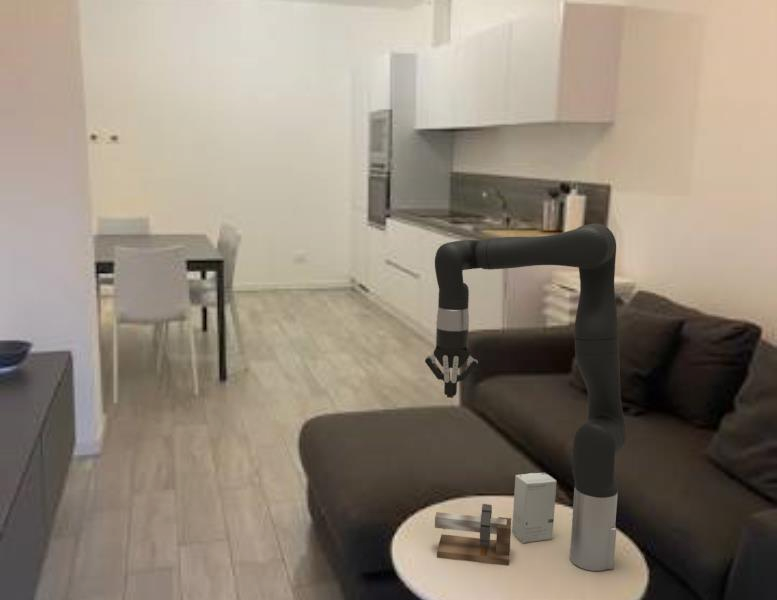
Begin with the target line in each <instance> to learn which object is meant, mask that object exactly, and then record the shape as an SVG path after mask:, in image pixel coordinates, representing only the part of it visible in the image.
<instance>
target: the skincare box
mask: <svg viewBox="0 0 777 600" xmlns="http://www.w3.org/2000/svg"><path fill="white" fill-rule="evenodd" d="M514 477H515V478H514V479H515V481H514V495H513V508H512V509H513V510H512V521H511V532H512V533H511V534H513V535H514V536H515V537H516V538H517V539H518V540H519V541H520V542H521V543H522V544H526V543H531V542H538V541H546V540H548V541H549V540H552V539H553V532H554V522H555V521H554V520H555V519H554V518H555V507H556V493H557V479H555V478H553V476H551V475H549V474H548V473H546V472H537V473H536V472H530V473H525V474H524V473H522V474H516V475H515V476H514Z"/></svg>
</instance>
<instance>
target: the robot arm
mask: <svg viewBox="0 0 777 600" xmlns="http://www.w3.org/2000/svg"><path fill="white" fill-rule="evenodd" d="M616 256H617V240H616V237H615V235H614V234H613V232H612V230H611V229H609V228H608V227H607V226H606V225H603V224H601V223H589V224H584V225H581V226H579V227H576V228H575V229H571V230H567V231H564V232H563V231H562V232H560V233H556V234H550V235H543V236H505V237H504V236H502V237H494V238H493V237H492V238H485V239H463V240H462V239H461V240H454V241H451V242H446V243H443V244H441V245H440V246H439V247H438V249H437V250H436V252H435V258H434V270H435V271H434V272H435V275H436V282H437V286H438V303H437V304H438V305H437V313H436V314H437V315H436V323H435V325H436V334H435V335H436V337H435V339H436V340H435V348H434V350H433V353H432V354H431V355H428V356H427V357H426V358H425V360H424V361H425V364H426V366H428V368H429V369H430V371H431V372H432V374H433V375H434V376H435V377H436V379H437V380H438V381H439V380H440V381H443V382H444V389H443V391H444V395H445V396H446V398H451V399H452V398H454V396H456V395H457V393H458V382H463V381H464V380H465V379H466V378H468V375H470V374H471V373H472V371H473V370H474V369H475V368H476V367H477V365H478V363H479V360H478V359H477V358H473V356H471V352H470V351H469V327H470V324H469V323H470V315H469V302H470V301H469V299H470V298H469V296H470V291H469V290H470V289H469V286H468V285H467V284H466V283H465V282H464V275H463V271H468V270H477V269H482V270H488V271H489V270H503V269H504V270H505V269H517V268H524V267H535V266H536V267H537V266H561V267H562V266H563V267H572V268H578V272H579V273H578V274H579V283H580V289H579V291H580V292H579V297H578V298H579V299H578V303H577V304H578V305H577V308H576V313H575V321H574V336H573V337H574V349H575V350H574V351H575V353H574V354H575V358H576V359H575V360H576V363H577V367H578V370H579V373H580V375H581V377H582V379H583V381H584V384H585V387H586V391H587V398H588V399H587V400H588V403H587V404H588V416H587V421H585V423H583V424H582V425H580V426H579V427H578V428H577V430H576V431H575V433H574V437H573V443H572V476H573V479H574V488H573V490H574V491H573V505H572V518H571V519H572V520H571V522H572V523H571V535H570V548H569V553H570V554H569V560H570V561H571V563H572V564H574V565H575V566H577V567H579V568H581V569H584V570H587V571H593V572H600V571H601V572H603V571H606V570H614V567H615V566H614V565H615V564H614V563H615V551H616V538H617V526H616V518H617V507H618V495H619V479H618V478H617V476H616V475H615V459H616V458H615V457H616V456H617V455H618V454H619V453H620V452H621V451H622V450H623V449H624V446H625V445H626V440H627V429H626V422H625V417H624V411H623V405H622V397H621V371H620V370H621V366H620V338H619V337H620V335H619V323H618V312H617V301H616V293H615V272H616V258H617V257H616ZM437 362H438V363H439V364H440V366H441V367H443V371H442V370H441V369H440V367H439V366H438V365H437ZM465 363H466V367H465V368H464V369H463V371H462V372H461V373H460V374H459V369H460V368H461V367H462V366H463V365H464V364H465ZM451 369H452V370H451ZM451 371H452V372H451Z"/></svg>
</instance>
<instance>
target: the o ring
mask: <svg viewBox="0 0 777 600" xmlns="http://www.w3.org/2000/svg"><path fill="white" fill-rule="evenodd" d="M492 506H493V505H492V504H489V503H488V504H487V503H482V506H481V514H480V516H481V524H480V525H481V526H480V533H479V538H480V546H489V543H490V540H491V534H490V518H492V516H493V515H492V513H493V512H492V509H493V508H492Z"/></svg>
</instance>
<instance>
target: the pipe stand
mask: <svg viewBox="0 0 777 600" xmlns="http://www.w3.org/2000/svg"><path fill="white" fill-rule="evenodd" d="M480 524H481V515H480V516H479V515H471V514H470V515H468V514H459V513H450V512H441V511H436V512H435V517H434V529H443V530H454V531H462V532H469V533H471V532H472V533H478V534H480V526H481V525H480ZM511 532H512V518H509V517H500V516H498V517H491V518H490V535H496V539H490V543H489V546H480V537H471V536H470V537H469V536H461V535H460V536H459V535H451V534H443V533H442V534H440V538H439V542H438V547H437V549H436V558H438V559H439V558H440V559H448V560H449V559H450V560H457V561H458V560H459V561H467V562H473V563H475V562H476V563H482V564H483V563H484V564H485V563H486V564H493V565H503V566H509V565H510V557H511V556H510V554H511V553H510V552H511V536H512V535H511V534H512V533H511Z"/></svg>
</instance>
